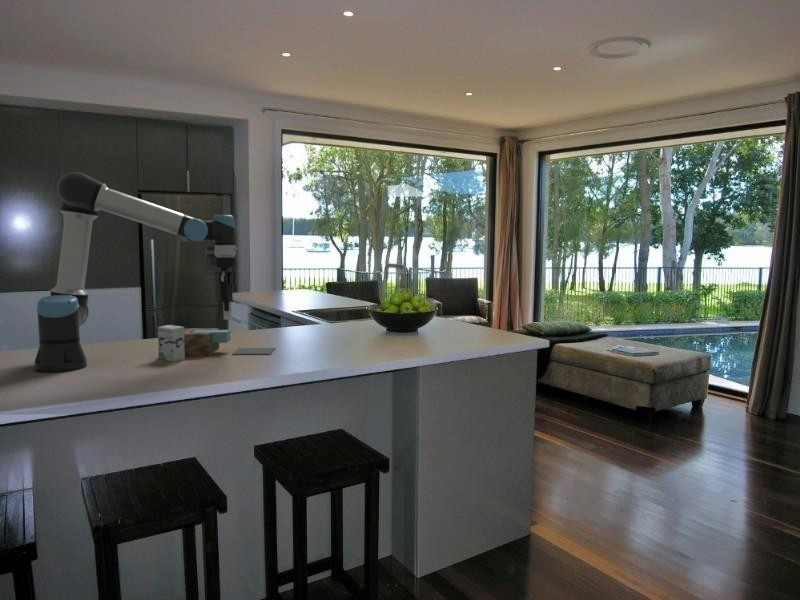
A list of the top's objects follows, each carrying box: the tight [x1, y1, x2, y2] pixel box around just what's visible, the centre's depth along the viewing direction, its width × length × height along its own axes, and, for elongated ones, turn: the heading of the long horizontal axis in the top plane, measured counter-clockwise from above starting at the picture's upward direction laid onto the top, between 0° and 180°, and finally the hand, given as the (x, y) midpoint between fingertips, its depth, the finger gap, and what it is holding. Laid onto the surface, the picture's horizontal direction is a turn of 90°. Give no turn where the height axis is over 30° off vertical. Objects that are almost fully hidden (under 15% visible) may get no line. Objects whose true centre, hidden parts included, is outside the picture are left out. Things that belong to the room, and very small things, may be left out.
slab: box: [191, 329, 231, 344], centre depth 227 cm, size 13×6×4 cm, turn 93°
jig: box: [184, 327, 220, 357], centre depth 226 cm, size 16×15×8 cm
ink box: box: [157, 324, 186, 362], centre depth 212 cm, size 9×5×12 cm, turn 60°
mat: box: [231, 347, 276, 356], centre depth 228 cm, size 14×12×1 cm
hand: (227, 319), depth 226 cm, fingers closed
